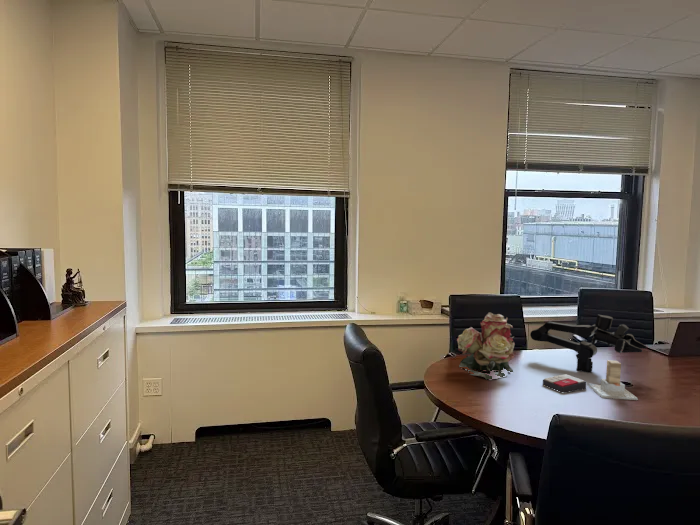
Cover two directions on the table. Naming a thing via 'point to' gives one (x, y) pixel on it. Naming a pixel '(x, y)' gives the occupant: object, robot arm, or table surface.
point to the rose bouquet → (487, 346)
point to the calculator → (565, 383)
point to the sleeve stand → (612, 390)
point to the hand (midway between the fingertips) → (644, 349)
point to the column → (613, 372)
